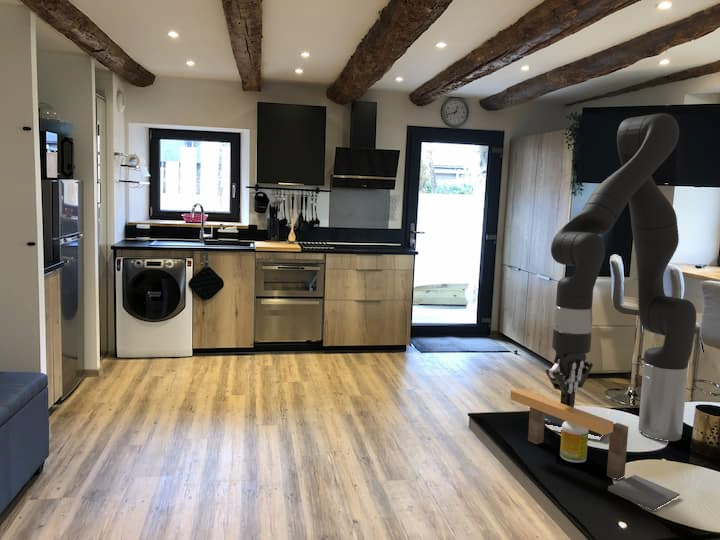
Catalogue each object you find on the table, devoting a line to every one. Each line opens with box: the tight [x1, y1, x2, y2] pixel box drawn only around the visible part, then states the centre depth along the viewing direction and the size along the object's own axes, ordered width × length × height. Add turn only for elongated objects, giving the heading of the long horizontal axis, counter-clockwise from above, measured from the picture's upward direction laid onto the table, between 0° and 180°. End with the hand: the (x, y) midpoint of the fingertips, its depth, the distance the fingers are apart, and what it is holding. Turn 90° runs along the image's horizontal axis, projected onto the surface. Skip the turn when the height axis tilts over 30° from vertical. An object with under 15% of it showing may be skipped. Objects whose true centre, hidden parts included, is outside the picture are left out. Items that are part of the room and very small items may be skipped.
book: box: [607, 474, 681, 512], centre depth 110 cm, size 9×9×1 cm
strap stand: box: [527, 393, 629, 479], centre depth 125 cm, size 2×22×11 cm, turn 34°
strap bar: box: [509, 388, 615, 436], centre depth 120 cm, size 3×23×2 cm, turn 34°
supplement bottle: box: [559, 421, 589, 464], centre depth 125 cm, size 5×5×10 cm
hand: (567, 408), depth 122 cm, fingers closed
